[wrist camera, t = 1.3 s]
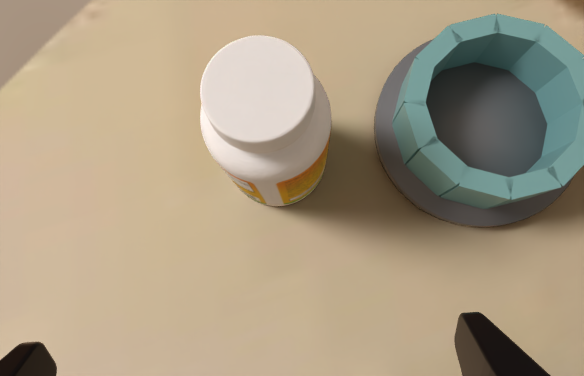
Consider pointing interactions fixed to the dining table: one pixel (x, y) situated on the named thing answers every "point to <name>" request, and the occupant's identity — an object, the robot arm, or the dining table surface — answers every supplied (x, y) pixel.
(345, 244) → the dining table surface
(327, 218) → the dining table surface
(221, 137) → the supplement bottle
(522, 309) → the dining table surface
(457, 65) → the teal round bowl
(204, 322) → the dining table surface
